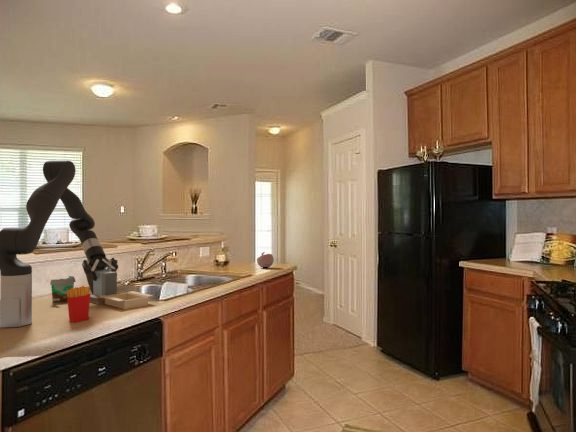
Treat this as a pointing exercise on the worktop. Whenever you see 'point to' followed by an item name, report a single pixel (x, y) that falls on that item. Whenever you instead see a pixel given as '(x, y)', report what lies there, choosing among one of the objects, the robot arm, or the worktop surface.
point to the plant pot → (89, 278)
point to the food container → (61, 288)
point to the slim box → (105, 283)
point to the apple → (265, 260)
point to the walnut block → (97, 299)
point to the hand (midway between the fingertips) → (105, 278)
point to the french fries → (78, 303)
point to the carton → (127, 300)
